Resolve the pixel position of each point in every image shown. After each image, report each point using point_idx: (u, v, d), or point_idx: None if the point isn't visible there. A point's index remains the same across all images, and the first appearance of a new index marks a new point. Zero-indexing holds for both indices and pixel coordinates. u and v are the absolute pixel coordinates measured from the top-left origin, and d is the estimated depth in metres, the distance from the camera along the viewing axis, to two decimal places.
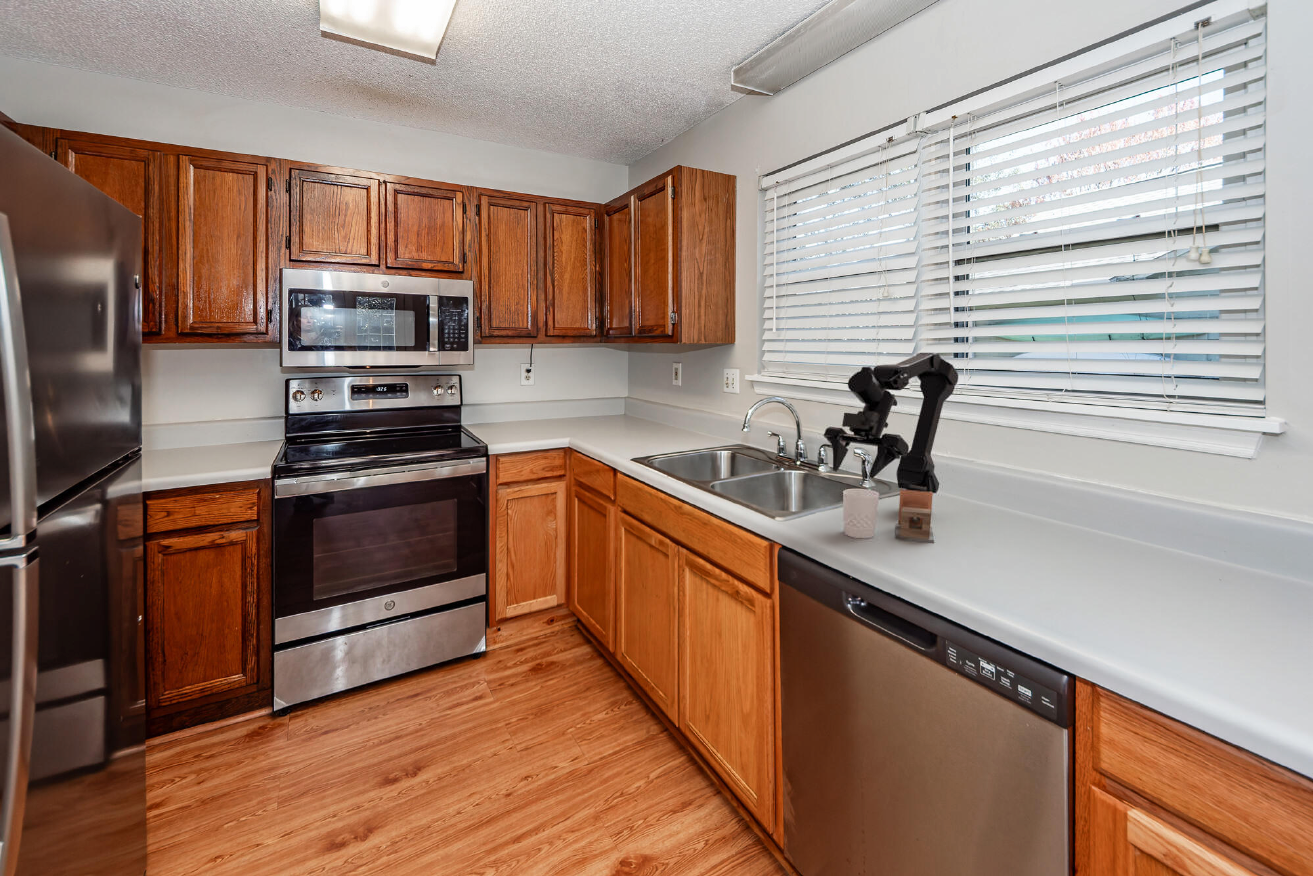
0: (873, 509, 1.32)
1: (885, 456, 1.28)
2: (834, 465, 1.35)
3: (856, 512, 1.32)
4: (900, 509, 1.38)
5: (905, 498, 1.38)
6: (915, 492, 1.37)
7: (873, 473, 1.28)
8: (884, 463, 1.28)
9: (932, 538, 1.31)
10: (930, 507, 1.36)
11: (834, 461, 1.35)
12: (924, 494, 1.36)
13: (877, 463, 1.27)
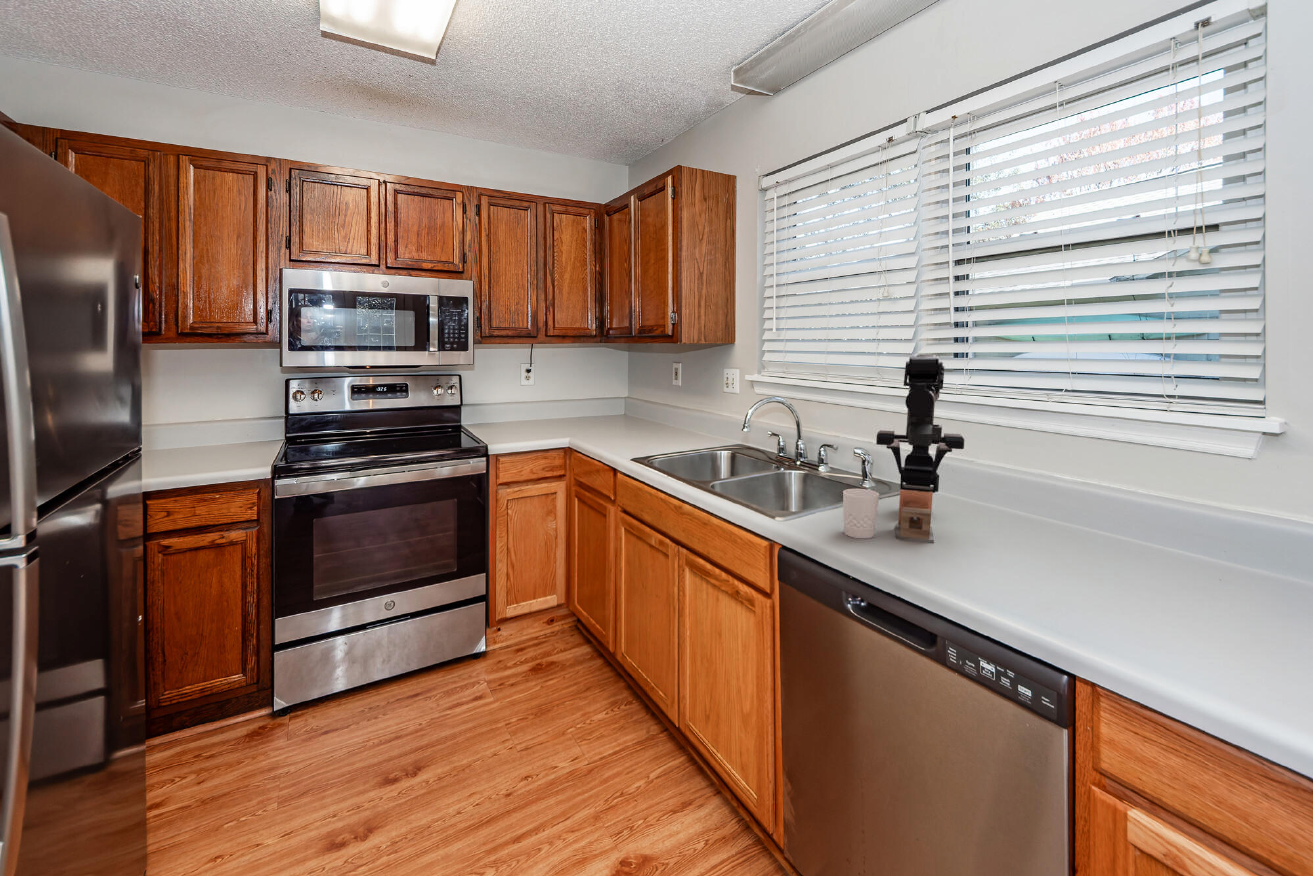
0: (873, 509, 1.32)
1: None
2: (900, 469, 1.39)
3: (856, 512, 1.32)
4: (900, 509, 1.38)
5: (905, 498, 1.38)
6: (915, 492, 1.37)
7: (935, 472, 1.37)
8: None
9: (932, 538, 1.31)
10: (930, 507, 1.36)
11: (899, 466, 1.39)
12: (924, 494, 1.36)
13: (938, 464, 1.36)
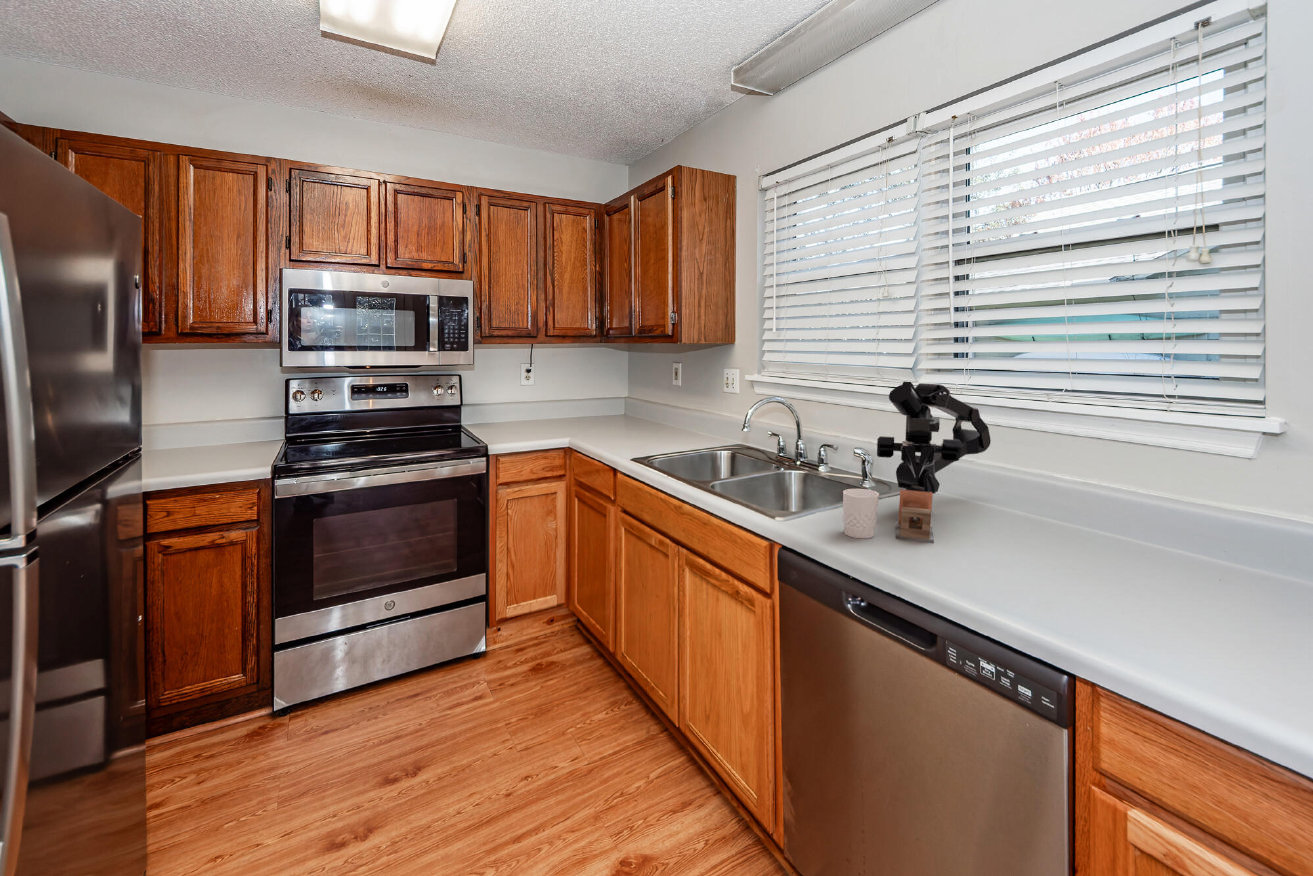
0: (873, 509, 1.32)
1: None
2: (916, 471, 1.39)
3: (856, 512, 1.32)
4: (900, 509, 1.38)
5: (905, 498, 1.38)
6: (915, 492, 1.37)
7: (920, 473, 1.39)
8: (924, 465, 1.41)
9: (932, 538, 1.31)
10: (930, 507, 1.36)
11: (915, 468, 1.39)
12: (924, 494, 1.36)
13: (922, 464, 1.39)
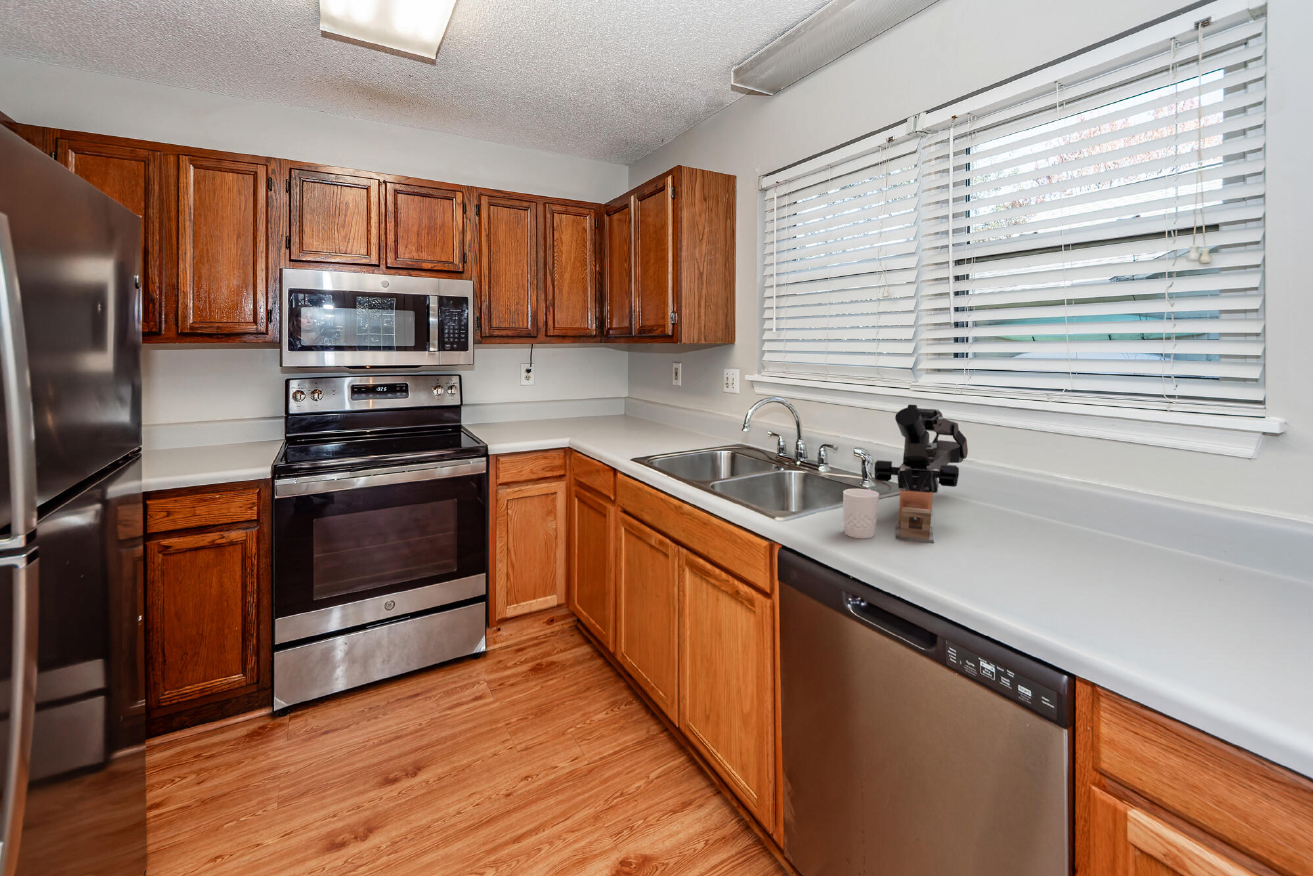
0: (873, 509, 1.32)
1: None
2: None
3: (856, 512, 1.32)
4: (900, 509, 1.38)
5: (905, 498, 1.38)
6: (915, 492, 1.37)
7: None
8: (921, 490, 1.41)
9: (932, 538, 1.31)
10: (930, 507, 1.36)
11: None
12: (924, 494, 1.36)
13: (919, 489, 1.39)
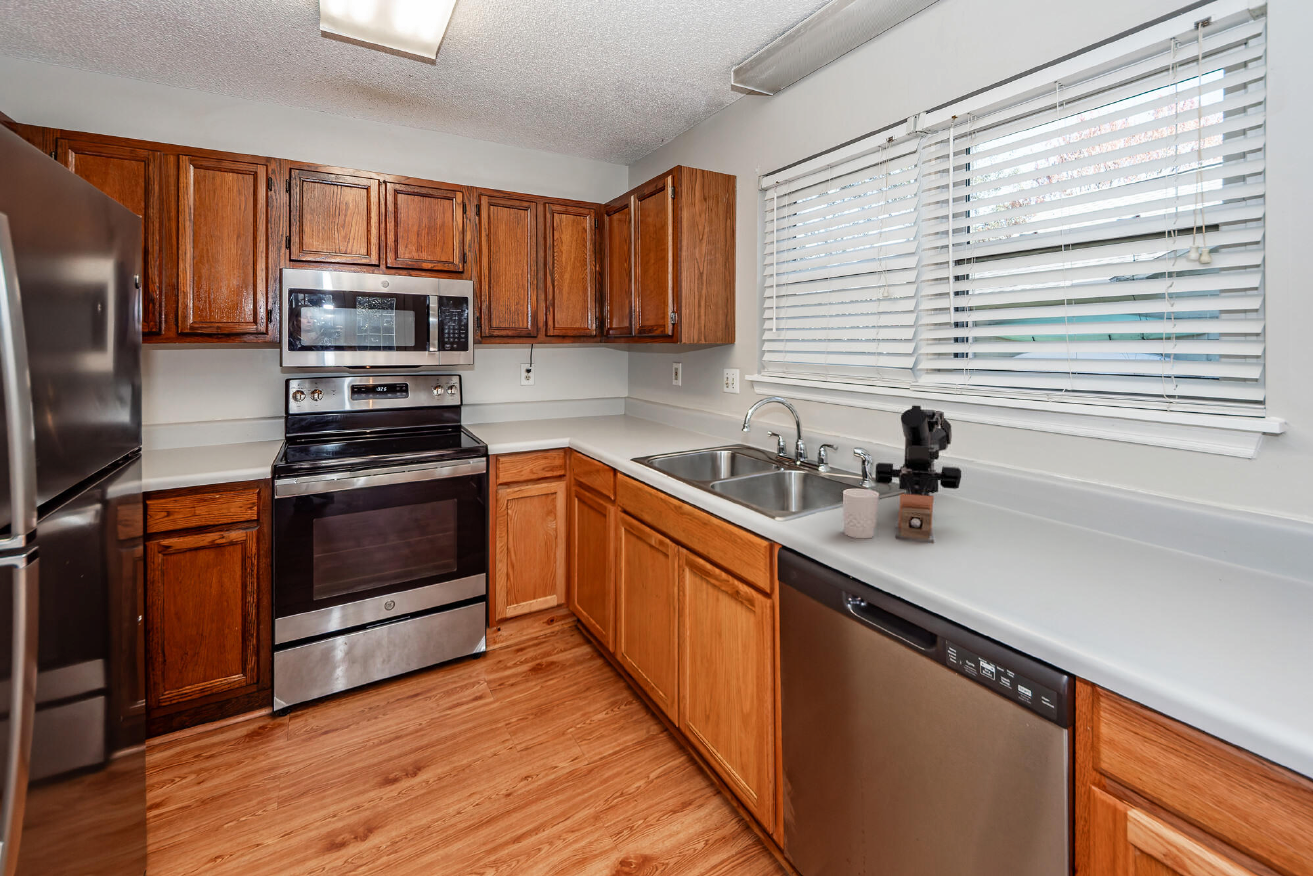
0: (873, 509, 1.32)
1: None
2: None
3: (856, 512, 1.32)
4: (900, 513, 1.35)
5: (905, 502, 1.34)
6: (915, 496, 1.33)
7: None
8: (923, 493, 1.39)
9: (932, 538, 1.31)
10: (931, 511, 1.33)
11: None
12: (925, 498, 1.33)
13: (922, 492, 1.37)
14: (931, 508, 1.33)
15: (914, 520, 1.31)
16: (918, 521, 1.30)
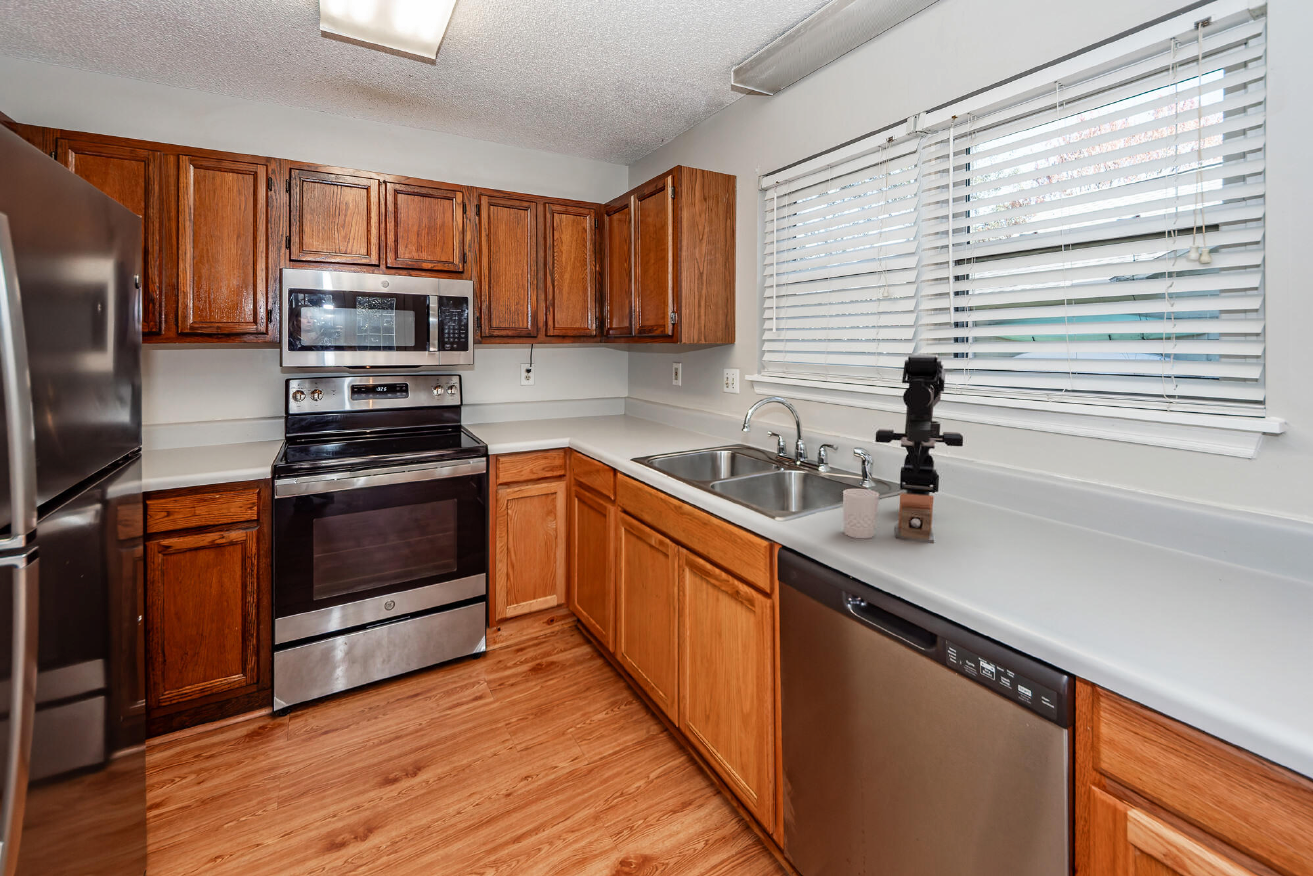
0: (873, 509, 1.32)
1: None
2: (914, 469, 1.38)
3: (856, 512, 1.32)
4: (900, 513, 1.35)
5: (905, 502, 1.34)
6: (915, 496, 1.33)
7: (919, 469, 1.38)
8: None
9: (932, 538, 1.31)
10: (931, 511, 1.33)
11: (913, 465, 1.38)
12: (925, 498, 1.33)
13: (922, 461, 1.37)
14: (931, 508, 1.33)
15: (914, 520, 1.31)
16: (918, 521, 1.30)
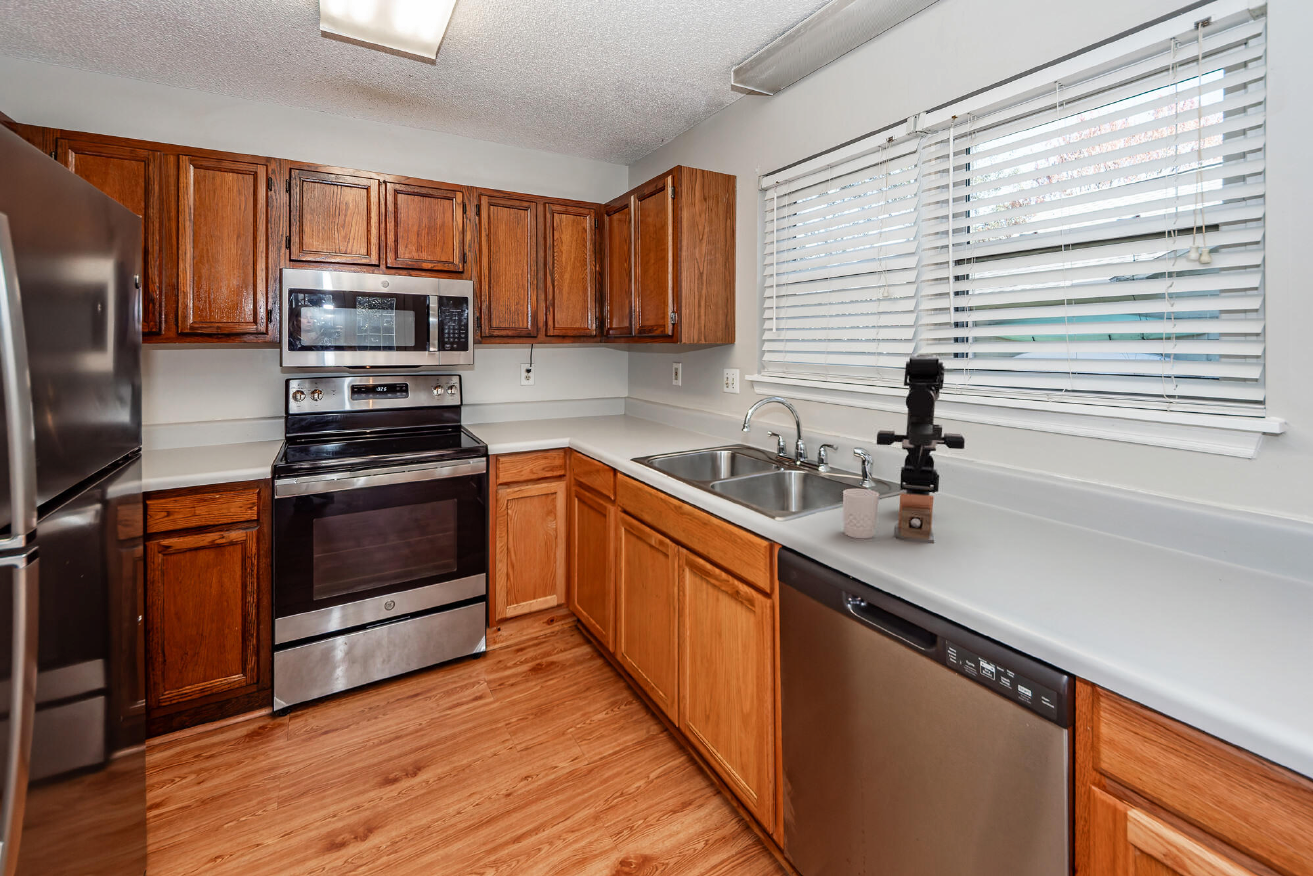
0: (873, 509, 1.32)
1: None
2: (916, 471, 1.38)
3: (856, 512, 1.32)
4: (900, 513, 1.35)
5: (905, 502, 1.34)
6: (915, 496, 1.33)
7: (920, 471, 1.38)
8: None
9: (932, 538, 1.31)
10: (931, 511, 1.33)
11: (915, 467, 1.38)
12: (925, 498, 1.33)
13: (923, 463, 1.37)
14: (931, 508, 1.33)
15: (914, 520, 1.31)
16: (918, 521, 1.30)
